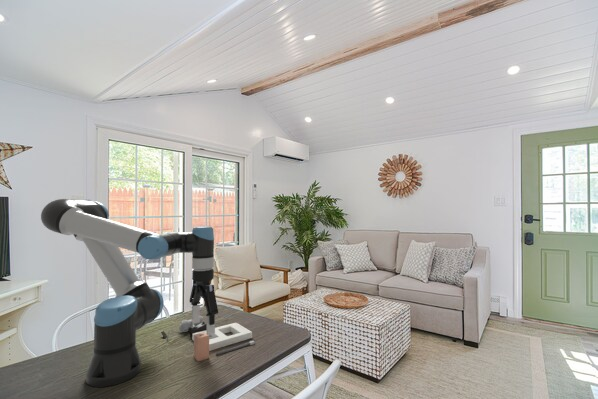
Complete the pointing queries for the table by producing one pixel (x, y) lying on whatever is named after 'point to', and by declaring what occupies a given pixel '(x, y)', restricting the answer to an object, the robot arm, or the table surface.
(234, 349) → the cable
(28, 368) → the table surface
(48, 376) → the table surface
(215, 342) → the outlet plate
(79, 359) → the table surface
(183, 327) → the clip-on lamp
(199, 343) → the block
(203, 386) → the table surface
